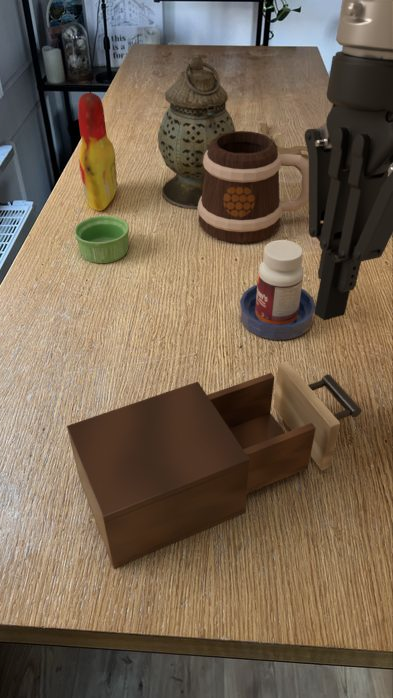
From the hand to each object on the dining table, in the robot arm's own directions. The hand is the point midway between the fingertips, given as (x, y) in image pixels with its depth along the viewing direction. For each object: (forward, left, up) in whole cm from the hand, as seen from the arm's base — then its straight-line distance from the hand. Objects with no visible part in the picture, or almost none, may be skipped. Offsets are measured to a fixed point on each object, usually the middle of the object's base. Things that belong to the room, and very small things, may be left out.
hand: (329, 314), depth 59 cm
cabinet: (-1, +20, -17) cm, 26 cm away
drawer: (-1, +6, -16) cm, 17 cm away
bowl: (+20, -7, -17) cm, 27 cm away
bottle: (+65, +5, -17) cm, 68 cm away
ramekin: (+48, +10, -17) cm, 52 cm away
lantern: (+60, -13, -17) cm, 64 cm away
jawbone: (+73, -41, -17) cm, 85 cm away
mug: (+45, -17, -17) cm, 51 cm away
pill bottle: (+20, -7, -17) cm, 27 cm away
